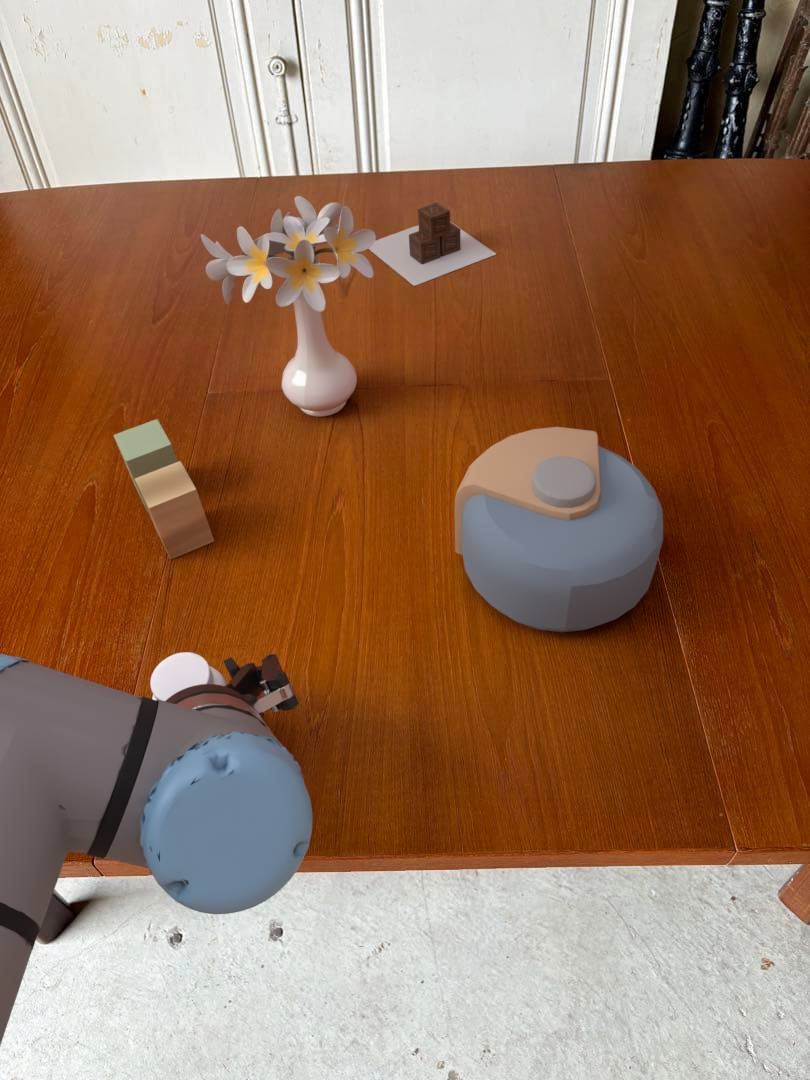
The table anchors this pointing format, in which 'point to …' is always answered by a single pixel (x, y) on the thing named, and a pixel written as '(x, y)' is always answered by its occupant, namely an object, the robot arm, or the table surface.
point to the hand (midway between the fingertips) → (189, 693)
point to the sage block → (145, 450)
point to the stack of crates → (430, 247)
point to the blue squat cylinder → (557, 529)
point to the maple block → (175, 509)
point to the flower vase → (302, 293)
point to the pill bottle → (182, 675)
